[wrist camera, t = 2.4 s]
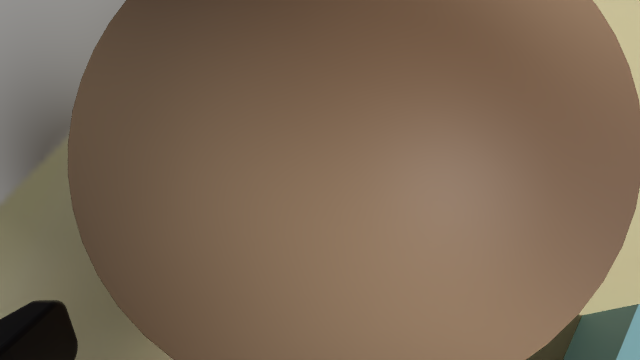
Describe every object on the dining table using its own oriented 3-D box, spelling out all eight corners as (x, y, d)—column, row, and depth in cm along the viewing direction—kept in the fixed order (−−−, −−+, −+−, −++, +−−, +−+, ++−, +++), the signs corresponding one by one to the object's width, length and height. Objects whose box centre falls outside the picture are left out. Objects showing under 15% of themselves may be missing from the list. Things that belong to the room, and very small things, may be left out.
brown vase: (399, 425, 16) (477, 574, 5) (219, 306, 18) (-46, 204, 6) (497, 234, 18) (728, 4, 6) (324, 143, 19) (264, -165, 8)
